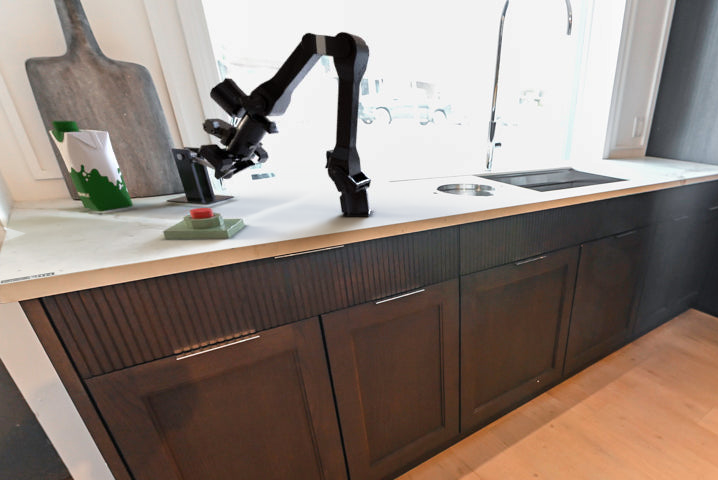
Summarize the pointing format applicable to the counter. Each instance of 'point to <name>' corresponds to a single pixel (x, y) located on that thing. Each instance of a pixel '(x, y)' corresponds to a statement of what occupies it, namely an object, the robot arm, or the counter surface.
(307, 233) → the counter surface
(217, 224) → the button block
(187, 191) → the bracket
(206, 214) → the button
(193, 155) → the lever
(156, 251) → the counter surface
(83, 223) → the counter surface
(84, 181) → the milk carton
